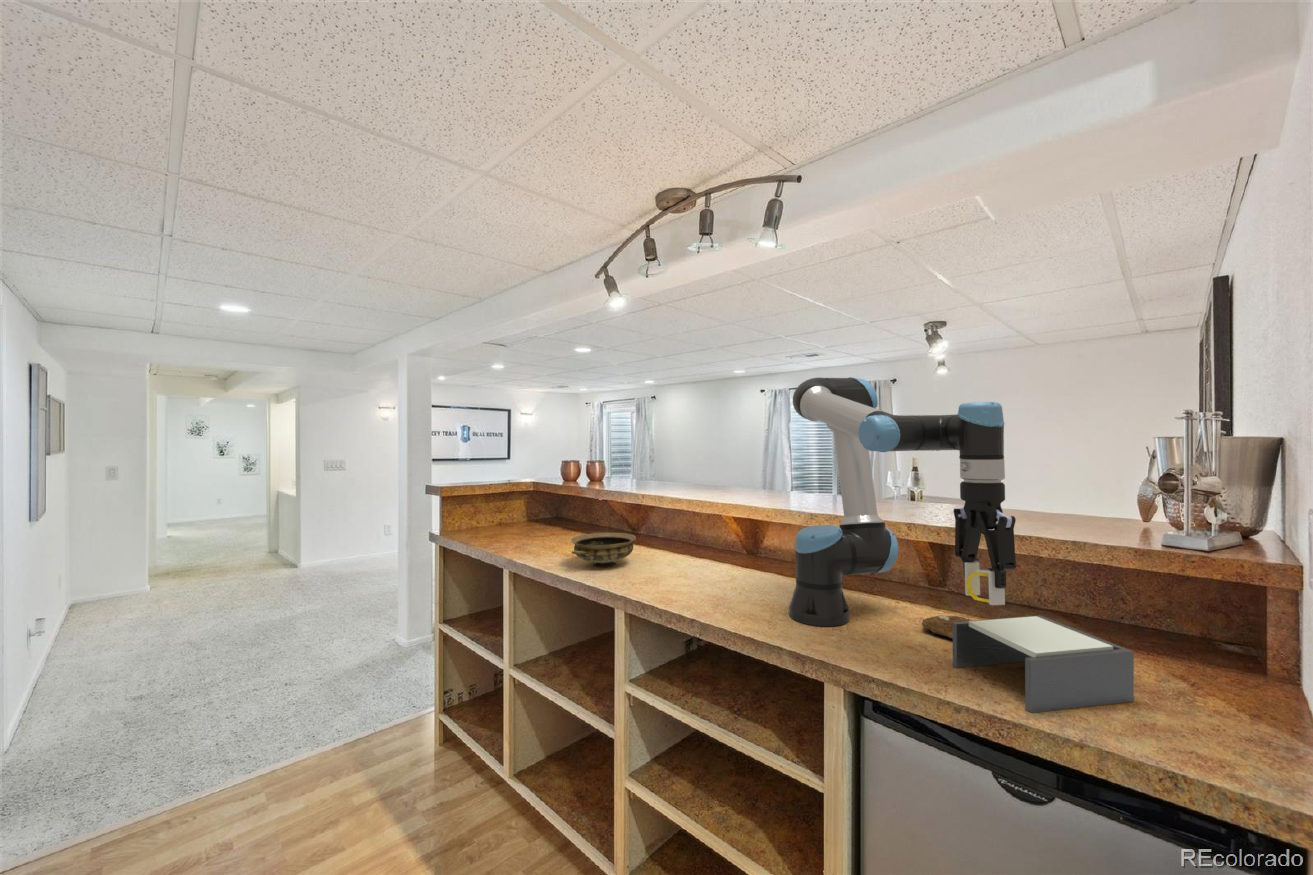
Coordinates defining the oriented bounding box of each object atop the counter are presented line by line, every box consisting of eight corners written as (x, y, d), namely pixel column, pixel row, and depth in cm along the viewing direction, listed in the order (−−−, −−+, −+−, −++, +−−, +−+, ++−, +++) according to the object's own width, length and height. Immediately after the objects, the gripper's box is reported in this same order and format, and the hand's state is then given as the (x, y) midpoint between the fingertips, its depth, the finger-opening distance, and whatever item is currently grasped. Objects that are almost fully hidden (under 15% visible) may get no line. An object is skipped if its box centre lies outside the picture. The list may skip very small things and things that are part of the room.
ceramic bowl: (609, 553, 217) (608, 528, 217) (654, 561, 202) (654, 535, 202) (551, 568, 194) (550, 540, 194) (597, 579, 179) (597, 549, 179)
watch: (965, 600, 106) (963, 570, 106) (971, 597, 108) (968, 568, 108) (999, 605, 101) (996, 574, 101) (1005, 602, 103) (1002, 571, 103)
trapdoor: (968, 626, 110) (968, 621, 110) (1036, 621, 112) (1036, 616, 112) (1036, 658, 94) (1036, 653, 94) (1113, 651, 96) (1113, 646, 96)
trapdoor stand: (952, 665, 111) (952, 622, 111) (1040, 657, 114) (1040, 615, 114) (1031, 712, 92) (1031, 660, 92) (1133, 701, 95) (1133, 651, 95)
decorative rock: (1001, 639, 125) (934, 625, 136) (1001, 622, 126) (933, 609, 137) (987, 651, 118) (916, 635, 129) (986, 632, 118) (916, 618, 129)
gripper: (933, 478, 113) (935, 587, 113) (1001, 485, 95) (1004, 615, 95) (965, 477, 114) (967, 586, 114) (1039, 484, 96) (1042, 613, 96)
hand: (984, 599), depth 104 cm, fingers closed on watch, 6 cm apart
